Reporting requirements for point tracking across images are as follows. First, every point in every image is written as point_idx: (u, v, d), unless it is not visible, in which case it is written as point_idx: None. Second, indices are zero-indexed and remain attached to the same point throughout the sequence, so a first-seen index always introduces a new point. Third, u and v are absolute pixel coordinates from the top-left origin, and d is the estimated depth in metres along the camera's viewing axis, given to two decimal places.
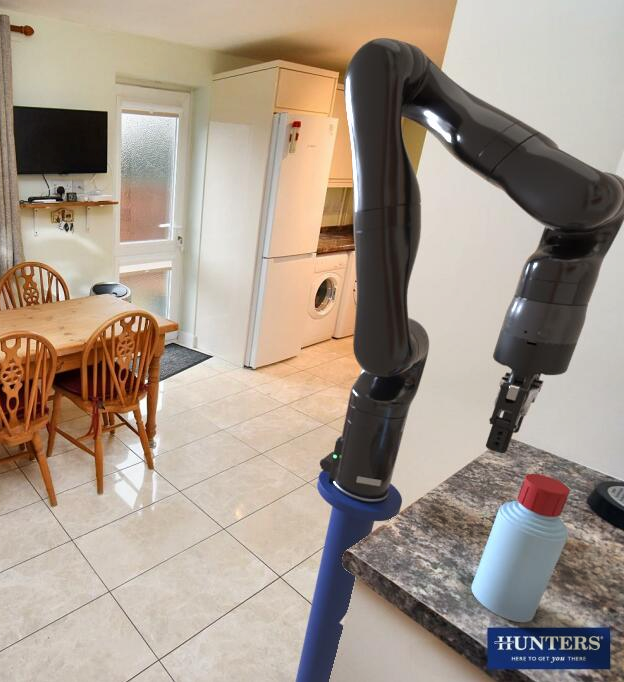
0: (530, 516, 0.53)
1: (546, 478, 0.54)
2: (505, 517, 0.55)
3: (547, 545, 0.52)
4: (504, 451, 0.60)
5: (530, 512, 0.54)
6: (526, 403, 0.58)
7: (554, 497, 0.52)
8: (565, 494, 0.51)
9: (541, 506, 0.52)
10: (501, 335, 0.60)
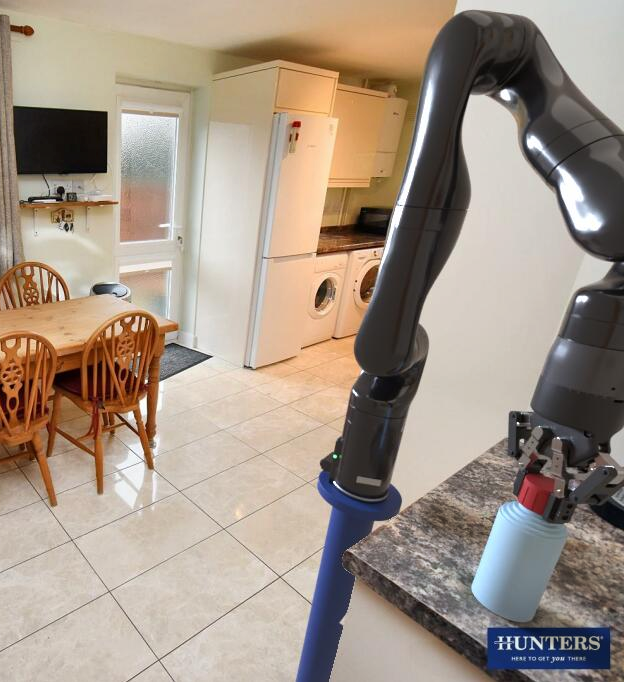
0: (530, 516, 0.53)
1: (546, 478, 0.54)
2: (505, 517, 0.55)
3: (547, 545, 0.52)
4: None
5: (530, 512, 0.54)
6: None
7: None
8: None
9: (541, 506, 0.52)
10: (567, 392, 0.48)
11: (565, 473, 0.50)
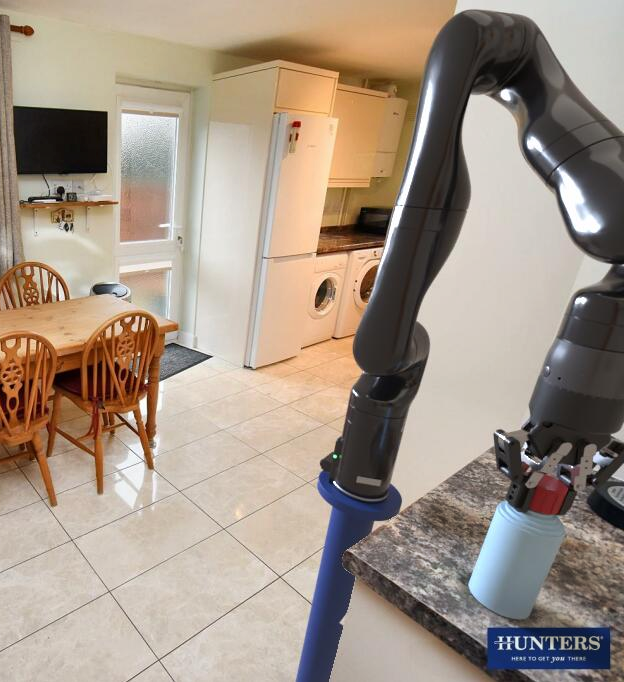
0: (528, 514, 0.54)
1: None
2: (503, 515, 0.56)
3: (544, 543, 0.52)
4: None
5: (528, 510, 0.54)
6: None
7: None
8: (557, 480, 0.54)
9: (561, 503, 0.53)
10: None
11: None
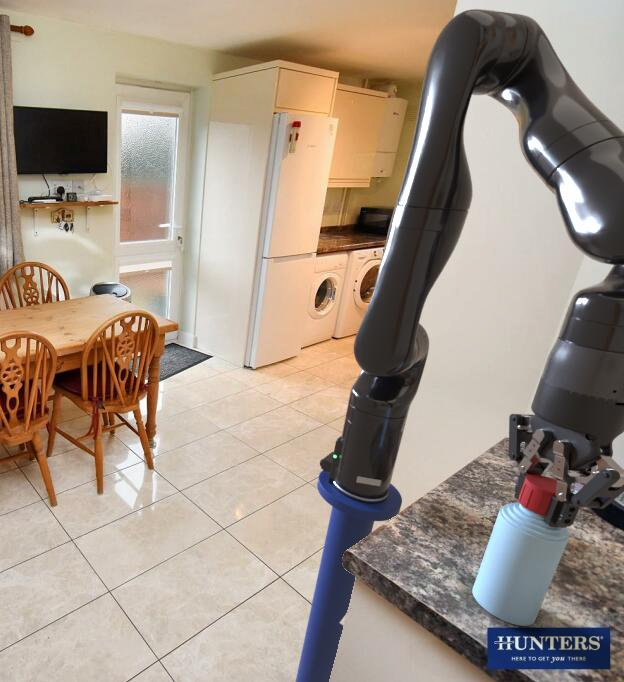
0: None
1: (544, 487, 0.52)
2: (529, 533, 0.53)
3: (566, 543, 0.52)
4: None
5: None
6: None
7: None
8: (534, 475, 0.55)
9: None
10: (569, 395, 0.47)
11: (567, 476, 0.49)
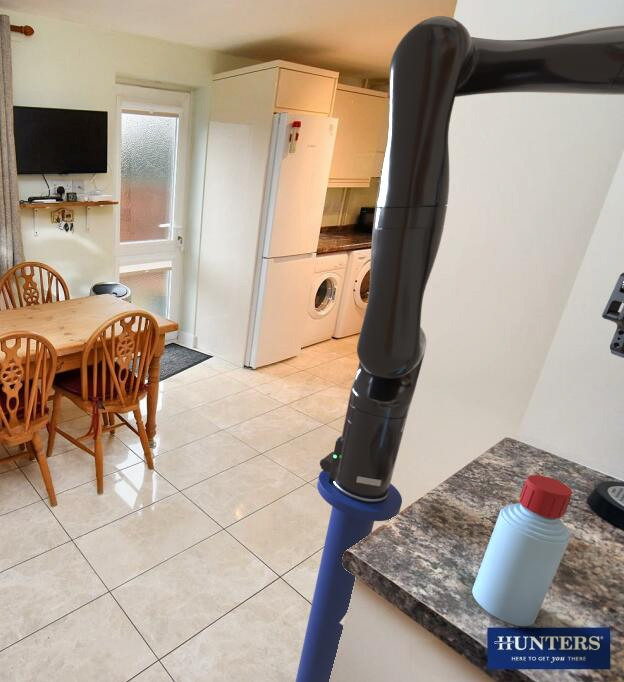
0: (550, 525, 0.52)
1: (563, 490, 0.52)
2: (530, 535, 0.53)
3: None
4: None
5: (548, 520, 0.52)
6: None
7: (526, 482, 0.54)
8: (531, 484, 0.53)
9: None
10: None
11: None
